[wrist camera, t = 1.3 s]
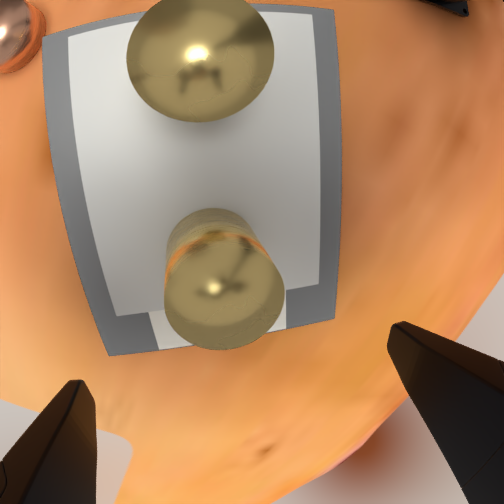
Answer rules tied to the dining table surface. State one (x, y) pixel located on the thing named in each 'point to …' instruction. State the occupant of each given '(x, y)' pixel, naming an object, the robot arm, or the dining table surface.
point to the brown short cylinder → (19, 33)
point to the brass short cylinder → (200, 58)
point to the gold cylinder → (220, 281)
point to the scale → (195, 172)
